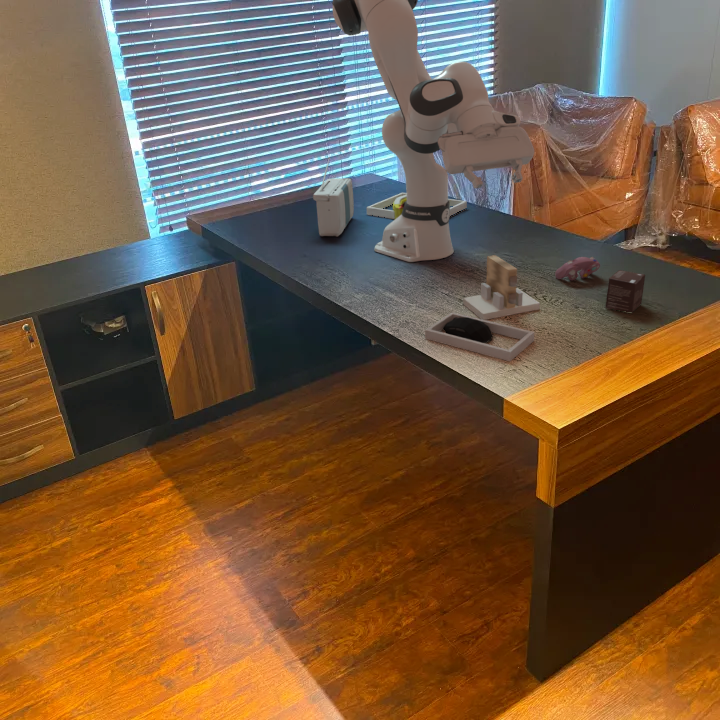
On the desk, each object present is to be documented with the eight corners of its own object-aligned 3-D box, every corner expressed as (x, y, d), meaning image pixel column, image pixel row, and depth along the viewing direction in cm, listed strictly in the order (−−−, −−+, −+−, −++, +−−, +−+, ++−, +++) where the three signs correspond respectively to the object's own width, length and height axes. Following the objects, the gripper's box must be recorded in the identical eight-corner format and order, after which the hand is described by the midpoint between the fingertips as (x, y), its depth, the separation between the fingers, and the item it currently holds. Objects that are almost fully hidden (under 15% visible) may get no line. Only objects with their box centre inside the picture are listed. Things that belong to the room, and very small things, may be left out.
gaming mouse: (448, 319, 158) (448, 302, 156) (498, 339, 147) (499, 322, 145) (427, 327, 154) (427, 311, 153) (477, 349, 144) (478, 331, 142)
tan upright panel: (486, 293, 165) (487, 256, 161) (493, 291, 165) (495, 255, 161) (509, 310, 155) (511, 272, 151) (517, 309, 156) (519, 270, 152)
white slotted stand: (463, 303, 164) (463, 285, 162) (517, 293, 167) (517, 275, 165) (483, 320, 155) (483, 301, 153) (539, 309, 159) (540, 290, 157)
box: (615, 299, 161) (619, 269, 158) (641, 305, 158) (646, 274, 154) (604, 308, 157) (608, 277, 154) (631, 314, 154) (635, 283, 150)
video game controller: (560, 288, 173) (569, 268, 167) (552, 275, 175) (560, 254, 170) (595, 282, 175) (605, 262, 170) (587, 269, 178) (596, 249, 172)
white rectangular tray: (366, 214, 233) (366, 207, 232) (402, 199, 247) (402, 192, 246) (432, 225, 219) (432, 217, 217) (466, 208, 233) (466, 201, 232)
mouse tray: (425, 338, 149) (424, 329, 148) (451, 320, 156) (451, 312, 155) (509, 361, 138) (510, 352, 137) (533, 340, 145) (534, 332, 144)
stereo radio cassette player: (342, 238, 213) (337, 171, 203) (315, 238, 214) (310, 171, 205) (355, 218, 231) (351, 155, 221) (330, 218, 232) (325, 156, 223)
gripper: (439, 125, 149) (459, 181, 145) (525, 115, 154) (546, 169, 151) (431, 143, 155) (449, 198, 151) (514, 133, 160) (534, 186, 156)
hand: (498, 183), depth 151 cm, fingers open, 8 cm apart
